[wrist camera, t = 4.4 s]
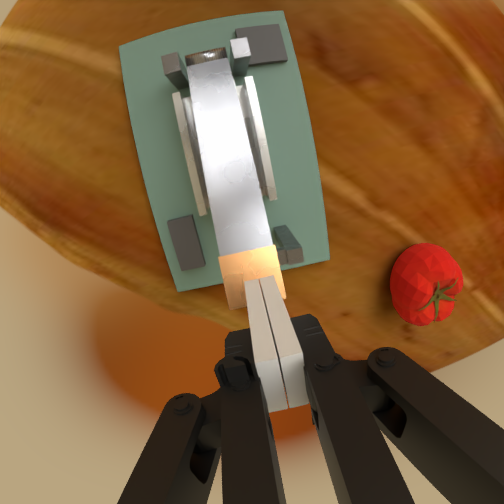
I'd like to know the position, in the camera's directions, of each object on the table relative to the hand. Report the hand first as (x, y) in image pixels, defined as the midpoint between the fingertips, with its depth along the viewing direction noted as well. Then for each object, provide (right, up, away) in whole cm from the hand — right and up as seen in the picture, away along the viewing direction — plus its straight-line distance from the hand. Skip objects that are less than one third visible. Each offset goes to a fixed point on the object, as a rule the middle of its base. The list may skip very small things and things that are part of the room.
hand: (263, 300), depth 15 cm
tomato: (+19, 0, +17) cm, 25 cm away
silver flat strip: (-2, +9, +2) cm, 9 cm away
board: (-3, +12, +10) cm, 16 cm away
